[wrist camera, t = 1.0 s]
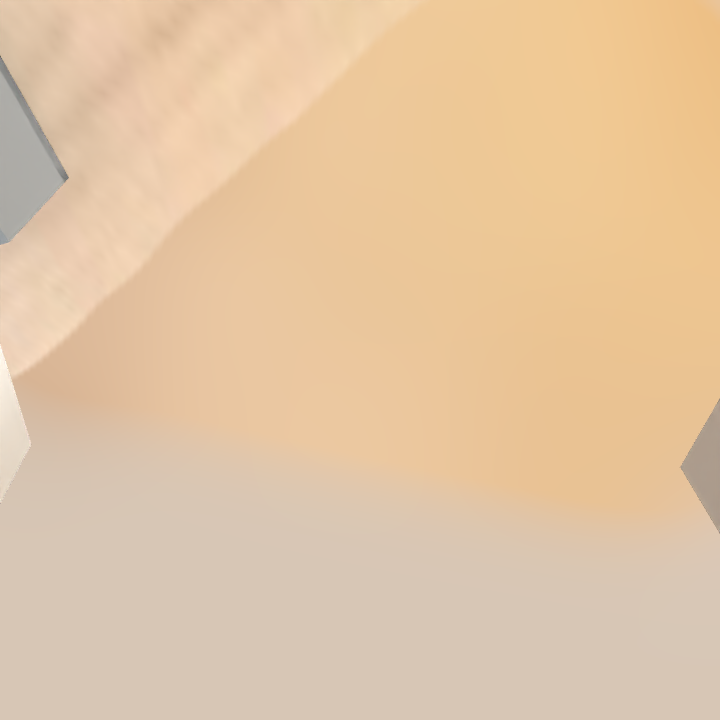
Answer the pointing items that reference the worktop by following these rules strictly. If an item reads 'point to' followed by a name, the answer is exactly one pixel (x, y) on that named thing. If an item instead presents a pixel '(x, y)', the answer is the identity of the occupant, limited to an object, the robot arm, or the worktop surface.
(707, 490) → the robot arm
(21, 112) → the box
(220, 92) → the worktop surface
